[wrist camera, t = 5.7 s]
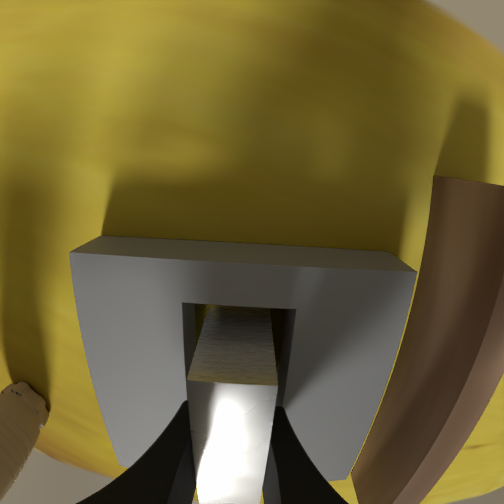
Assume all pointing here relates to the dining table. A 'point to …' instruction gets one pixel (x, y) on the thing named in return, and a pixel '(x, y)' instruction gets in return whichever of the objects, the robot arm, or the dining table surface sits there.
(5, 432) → the handle
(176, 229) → the dining table surface
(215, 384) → the white wooden block
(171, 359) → the slotted grey plate
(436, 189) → the brown long flat block
